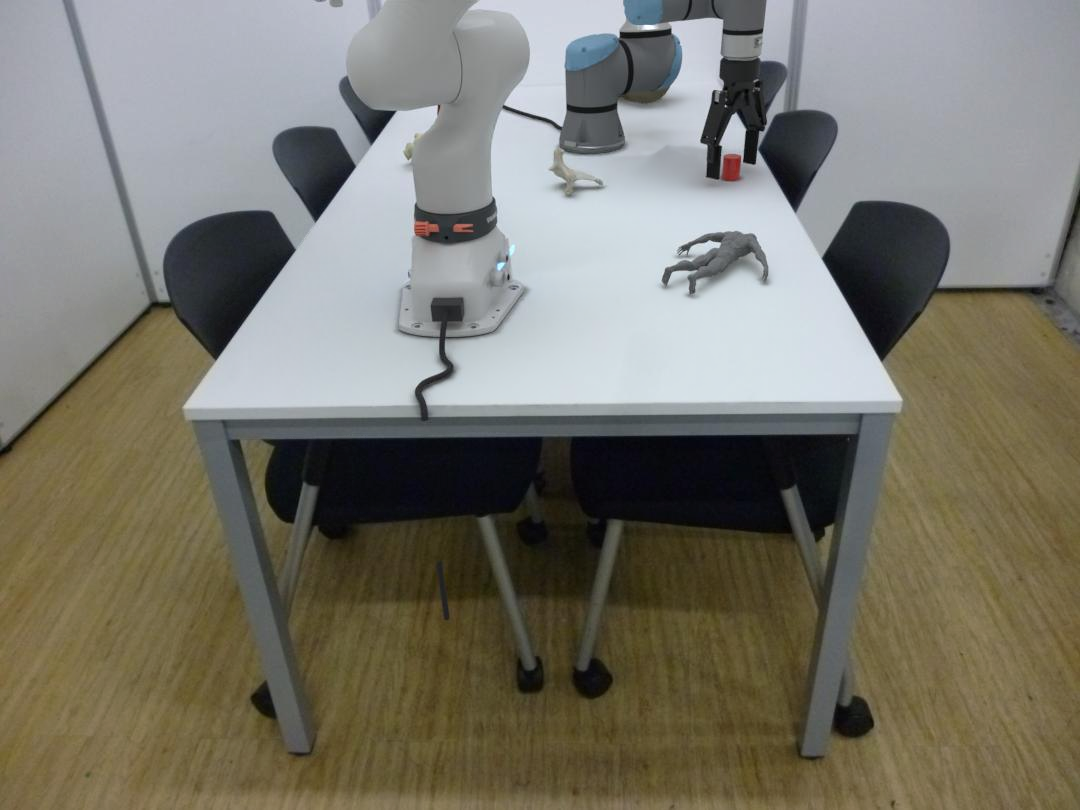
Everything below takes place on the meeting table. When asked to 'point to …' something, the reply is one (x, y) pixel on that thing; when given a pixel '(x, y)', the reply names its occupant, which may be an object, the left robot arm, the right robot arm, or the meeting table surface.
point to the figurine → (717, 256)
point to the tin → (731, 167)
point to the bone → (569, 172)
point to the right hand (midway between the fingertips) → (731, 170)
